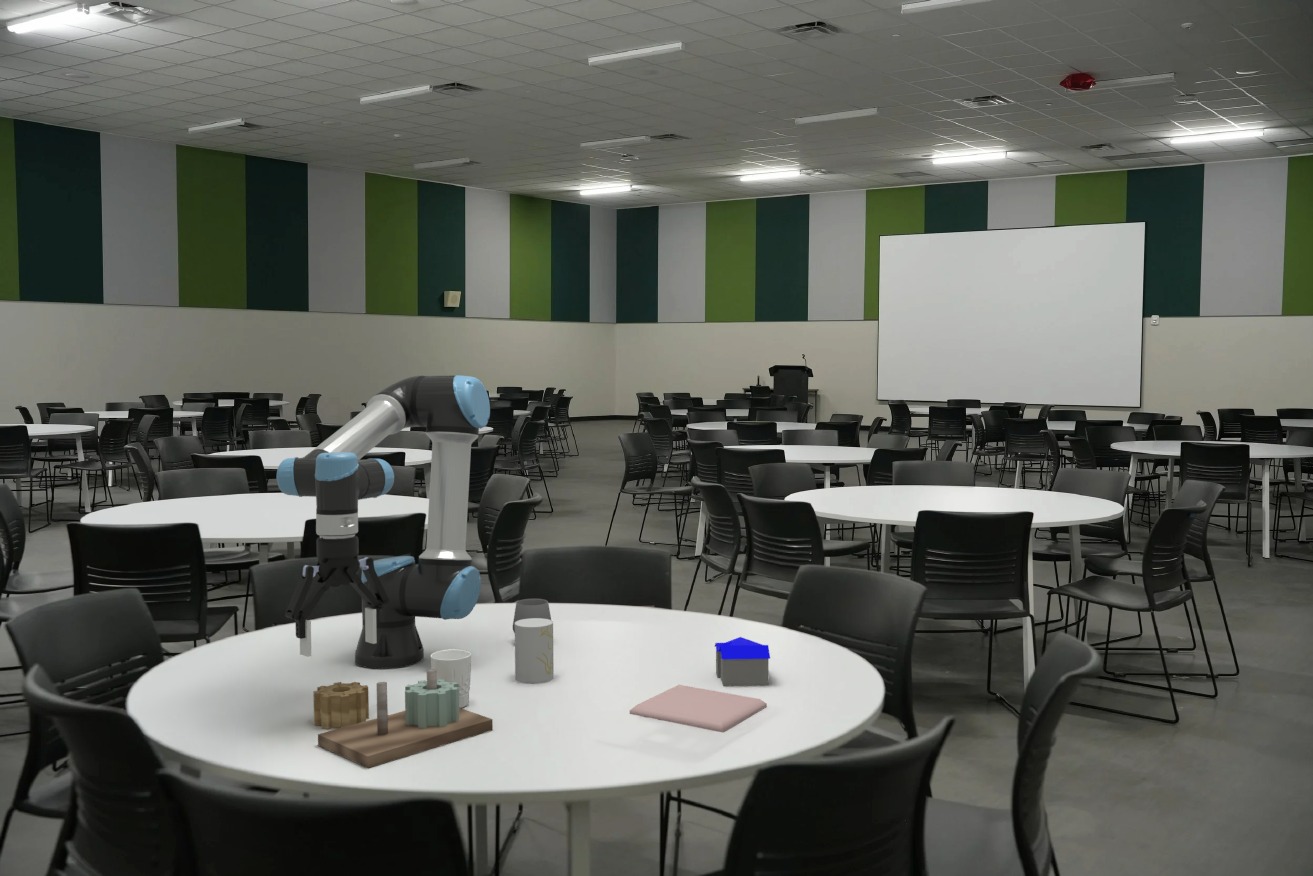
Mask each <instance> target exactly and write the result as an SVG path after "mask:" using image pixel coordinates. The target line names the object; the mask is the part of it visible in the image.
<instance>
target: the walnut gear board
mask: <svg viewBox="0 0 1313 876" xmlns="http://www.w3.org/2000/svg"><path fill="white" fill-rule="evenodd" d="M426 681H427V690H436V689H437V670H431V669H428V670H426ZM493 725H494V723H493V719H492V718H490V717H487V716H484V715H481V714H479V713H476V712H473V711H470V710H467V709H464V708H463V707H462V708H459V720H458V721H457V722H450V723H447V726H444V727H438V726H428V727H426V728H418V725H414V724H413V725H407V724H406V723H405V710H402V711H398V712H395V713H391V714H388V681H378V682H376V718H374V719H373V718H371V719H369V720H366V721H365V722H361V723H358V724H354V725H350V726H347V727H343V728H341V727H338V728H336V729H331V730H328V731H325V732H322V733H321V732H320V733H318V734H317V746H319V747H320V748H322V749H325V750H327V751H330V752H332V753H334V754H337V755H339V756H340V757H343V758H345V759H347V760H350V761H351V762H354V763H356V764H358V765H360V766H362V767H365V768H366V769H370V768H372V767H377V766H379V765H382V764H386V763H389V762H393V761H395V760H399V759H402V758H405V757H409V756H413V755H416V754H418V753H421V752H426V751H428V750H431V749H435V748H438V747H441V746H445V745H448V744H451V743H455V742H458V741H461V740H464V739H467V738H470V737H471V738H472V737H474V736H477V735H481V734H483V733H484V734H485V733H487V732H490V731H493V730H494V729H493V727H494V726H493Z"/></svg>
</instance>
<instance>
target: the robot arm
mask: <svg viewBox="0 0 1313 876" xmlns="http://www.w3.org/2000/svg"><path fill="white" fill-rule="evenodd" d="M490 416H491V406H490V398H489V395H488V391H487V390H486V387H485V385H484V383H482V381H481V380H480V379H478V378H477V377H474V376H469V375H461V374H457V375H414V376H409V377H406V378H403V379H400V380H399V381H396V382H394V383H392V384H390V385H389V386H387V387H385V388H383V389H382V390H380V391H379V392H377V393H376V394H374V396H372V397H371V398H370V399H369V400H368V401H367V403H366V406H365V408H364V409H363V410H362V411H360V412H359V413H358V414H357V415H356V416H354V417H353V418H351V420H349V421H348V422H346V424H344V425H343V426H341V427H340V428H339V429H337V430H336V431H335V432H334V433H333V434H331V435H330V436H329V437H327V438H326V439H325V440H323V441H322V442H321V443H320V444H319V445H318V446H316V447H315V448H313V450H311V451H310V452H308V453H307V454H306V455H304V456H302V457H298V456H295V457H288V458H285V459H283V460H282V461H281V462H280V463H279V465H278V467H277V471H276V482H277V487H278V488H279V490H280V492H281V493H282V494H284V495H287V496H294V497H299V498H303V497H312V498H313V497H314V498H315V503H316V504H315V505H316V508H315V509H316V510H315V511H316V512H315V514H316V516H315V517H316V519H315V523H316V524H315V532H316V533H315V534H316V535H317V536H318V537H317V538H316V539H315V540H316V558H317V563H316V565H307V564H303V565H301V567H300V574H299V579H298V582H297V583H296V586H295V589H294V591H293V594H292V595H291V597H290V600H289V603H288V604H287V607H286V610H285V613H284V616H285V617H286V618H288V619H292V620H294V621H295V637H296V638H298V639H299V655H301V656H304V657H307V658H309V657H312V621H311V620H310V619H308V617H310V615H311V613H312V612H313V611H314V609H315V608H316V606H317V604H319V602H320V600H321V598H322V597H323V595H324V594H326V593H325V592H326V591H327V592H328V590H329V589H330V588H331V587H332V588H335V587H340V586H349V585H350V586H351V587H352V588H353V589H354V590H355V591H356V592H357V594H358V595H359V596H360V597H361V614H362V616H361V617H362V618H361V619H362V621H361V622H362V629H361V632H360V635H359V639H358V641H357V645H356V648H355V651H354V663H355V664H356V665H358V666H359V667H363V668H367V669H396V668H403V667H408V666H412V665H415V664H418V663H420V662H421V661H422V662H423V660H424V659H425V656H424V655H425V653H424V651H425V649H424V645H423V643H422V639H421V637H420V634H419V632H418V629H417V626H416V617H417V618H430V619H431V618H433V619H443V620H460V619H464V618H466V617H468V616H469V615H470V614H471V613H472V611H473V610H474V608H475V607H476V604H477V602H478V601H479V597H480V592H481V586H482V579H481V576H480V571H479V569H477V568H476V567H475V566H472V563H473V561H472V559H473V558H472V557H471V555H470V554H469V553H468V552H467V550H466V547H467V546H466V544H467V527H468V508H469V507H468V506H469V491H470V490H469V489H470V471H471V457H472V456H471V452H472V450H471V449H472V444H473V443H474V442H475V441H476V440H477V439H478V438H479V433H480V432H479V431H480V429H483V428H484V427H486V426H487V424H488V423H489V420H490ZM416 427H417V428H420V427H421V428H426V430H425V435H426V436H427V437H428V438H429V439H430V440H431V442H432V444H431V445H432V446H431V459H430V461H431V463H430V477H429V478H430V480H429V495H428V496H429V497H428V510H427V511H428V512H427V513H428V514H427V531H426V544H425V545H426V547H425V550H423V552H422V553H421V554H420V555H418V563H416V560H415V557H414V556H411V555H399V556H392V557H386V558H379V559H375V560H374V559H373V558H371V557H367V556H362V557H361V559H359V557H358V555H359V553H360V551H359V549H360V547H359V545H360V544H359V537H358V536H357V535H356V534H358V532H359V501H360V500H366V499H372V498H373V499H376V498H378V497H381V496H383V495H386V494H387V493H388V492H389V491H391V489H392V487H393V486H394V483H395V473H394V470H393V468H392V466H391V464H390V463H389V462H387V461H386V460H384V459H381V458H367V459H362V458H363V457H364V456H366V455H367V454H368V453H370V451H372V449H374V448H375V447H376V446H378V444H380V443H381V442H382V441H383V440H384V439H385V438H387V436H389V435H396V434H397V433H400V432H401V431H402V430H403V429H407V428H416ZM359 569H360V570H361V576H359V575H358V574H357V572H359V571H358V570H359ZM316 574H317V575H318V577H317V579H316V580H315V582H314V583H313V587H312V589H310V587H311V586H312V582H313V579H314V577H315V576H316ZM360 577H361V578H360ZM309 590H310V592H309Z"/></svg>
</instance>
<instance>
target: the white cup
mask: <svg viewBox="0 0 1313 876" xmlns="http://www.w3.org/2000/svg"><path fill="white" fill-rule="evenodd" d="M471 667H472V653H471V652H470V651H468V650H465V649H456V648H455V649H443V650H437V651H434V652H433V653H431V654H430V670H437V680H438V679H442V680H446V682H450V683H451V682H457V683H458V685H459V708H462V709H463V708H465V707H467V706H469V703H470V701H469V700H470V690H471V687H470V685H471V670H472V669H471Z"/></svg>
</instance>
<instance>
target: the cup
mask: <svg viewBox="0 0 1313 876" xmlns="http://www.w3.org/2000/svg"><path fill="white" fill-rule="evenodd" d="M530 618H543V619H549V620H552V616H551V611H550V604H549V601H548V600H547V599H542V598H525V599H520V600H518V601H516V603H515V609H514V615H513V622H512V631H513V633H514V634H515V622H516V621H518V620H522V619H530Z"/></svg>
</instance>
